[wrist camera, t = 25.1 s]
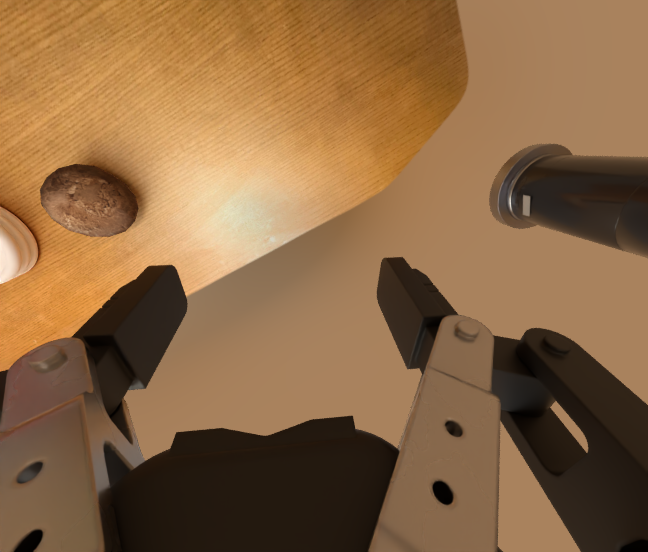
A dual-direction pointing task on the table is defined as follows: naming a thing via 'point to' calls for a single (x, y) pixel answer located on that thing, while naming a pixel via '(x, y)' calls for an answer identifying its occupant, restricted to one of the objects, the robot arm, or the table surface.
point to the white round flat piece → (15, 247)
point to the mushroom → (88, 201)
